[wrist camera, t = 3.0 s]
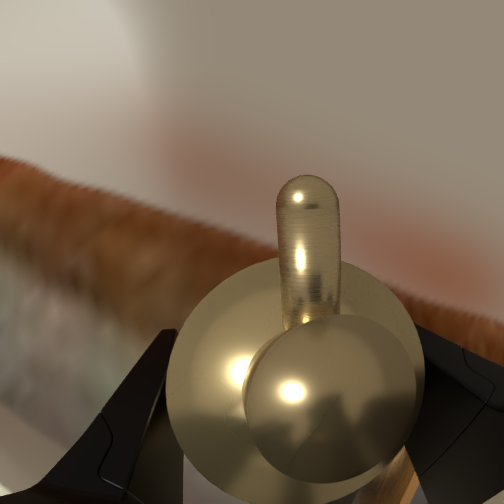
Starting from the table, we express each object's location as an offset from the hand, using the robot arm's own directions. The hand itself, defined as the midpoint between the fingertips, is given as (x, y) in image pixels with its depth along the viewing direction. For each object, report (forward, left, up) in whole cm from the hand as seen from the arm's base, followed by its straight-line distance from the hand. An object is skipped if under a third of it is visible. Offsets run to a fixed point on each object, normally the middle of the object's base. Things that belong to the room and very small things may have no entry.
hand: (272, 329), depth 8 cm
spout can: (-1, +1, -7) cm, 7 cm away
